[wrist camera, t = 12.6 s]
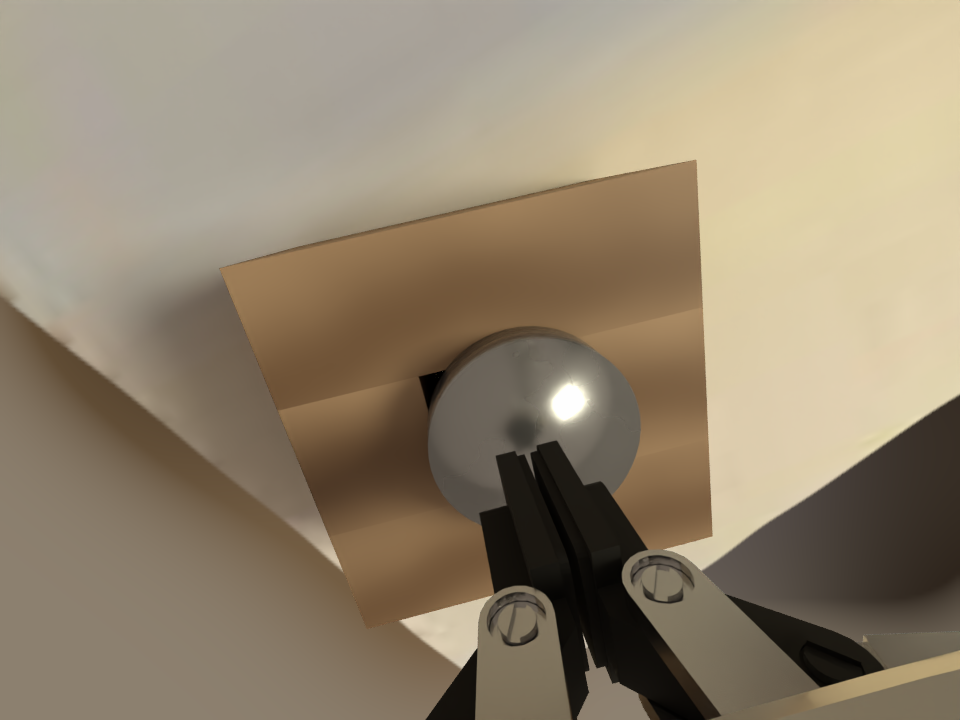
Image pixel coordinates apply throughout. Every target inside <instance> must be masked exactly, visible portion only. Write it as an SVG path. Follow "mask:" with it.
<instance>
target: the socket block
mask: <svg viewBox="0 0 960 720" xmlns="http://www.w3.org/2000/svg"><path fill="white" fill-rule="evenodd" d="M219 269H220V271H221V274H222V276H223V278H224V281H225V283H226V286H227V288H228V291H229V293H230V295H231V298H232V300H233V303H234V305H235V308H236V310H237V313H238V315H239V317H240V320H241V322H242V325H243V327H244V330H245V332H246V335H247V337H248V339H249V342H250V344H251V347H252V349H253V352H254V354H255V357H256V359H257V361H258V364H259V366H260V369H261V371H262V374H263V376H264V379H265V381H266V383H267V386H268V388H269V391H270V393H271V396H272V398H273V401H274V403H275V405H276V408H277V410H278V413H279V415H280V418H281V420H282V423H283V425H284V427H285V430H286V432H287V435H288V437H289V440H290V442H291V445H292V447H293V449H294V452H295V454H296V457H297V459H298V462H299V464H300V467H301V469H302V471H303V474H304V476H305V479H306V481H307V484H308V486H309V489H310V491H311V493H312V496H313V498H314V501H315V503H316V506H317V508H318V511H319V513H320V515H321V518H322V520H323V523H324V525H325V528H326V530H327V532H328V535H329V537H330V540H331V542H332V545H333V547H334V550H335V552H336V554H337V557H338V559H339V562H340V564H341V567H342V569H343V572H344V574H345V576H346V579H347V581H348V584H349V586H350V588H351V591H352V593H353V596H354V598H355V601H356V603H357V606H358V608H359V611H360V613H361V616H362V618H363V620H364V623H365V625H366V628H367V629H369V628H372V627H376V626H380V625H384V624H387V623H390V622H395V621H399V620H402V619H406V618H410V617H413V616H417V615H421V614H425V613H428V612H432V611H436V610H440V609H443V608H447V607H451V606H454V605H458V604H462V603H466V602H469V601H473V600H477V599H480V598H484V597H488V596H492V595H494V590H493V584H492V579H491V574H490V568H489V563H488V558H487V552H486V547H485V542H484V536H483V531H482V526H481V525H479V524H477V523H475V522H473V521H471V520H469V519H468V518H466V517H465V516H464V515H462V514H461V513H459V512H458V511H457V510H456V509H455V508H454V507H453V506H452V505H451V504H450V503H449V502H448V501H447V500H446V498H445V497H444V496H443V494H442V493H441V491H440V489H439V488H438V486H437V484H436V482H435V479H434V477H433V474H432V471H431V467H430V463H429V456H428V424H427V421H428V410H429V405H430V401H431V397H432V395H433V392H434V389H435V387H436V385H437V380H436V377H435V372H439V371H443V370H446V369H447V367H448V366H449V365H450V363H451V362H452V361H453V360H454V359H455V358H456V357H457V356H458V355H459V354H460V353H462V352H463V351H464V350H465V349H467V348H468V347H469V346H470V345H472V344H474V343H475V342H477V341H479V340H480V339H482V338H484V337H486V336H489V335H491V334H493V333H496V332H499V331H502V330H505V329H510V328H515V327H522V326H541V327H549V328H554V329H558V330H562V331H564V332H567V333H570V334H572V335H574V336H576V337H578V338H580V339H581V340H583V341H584V342H586V343H587V344H588V345H590V346H591V347H592V348H594V349H595V350H596V351H597V352H599V353H600V354H601V355H602V356H604V357H605V358H606V359H607V360H609V361H610V362H611V363H612V364H613V365H614V366H615V367H616V368H617V369H618V370H619V371H620V372H621V373H622V374H623V376H624V377H625V378H626V380H627V381H628V383H629V384H630V386H631V388H632V390H633V392H634V394H635V397H636V400H637V403H638V407H639V412H640V420H641V433H640V442H639V446H638V450H637V454H636V457H635V459H634V462H633V465H632V467H631V469H630V471H629V472H628V474H627V476H626V478H625V479H624V481H623V482H622V484H621V485H620V486H619V488H618V489H617V490H616V491H615V492H614V493H613V495H612V496H613V498H614V499H615V501H616V502H617V504H618V505H619V507H620V508H621V510H622V511H623V513H624V514H625V516H626V517H627V519H628V520H629V522H630V523H631V525H632V526H633V528H634V529H635V531H636V532H637V534H638V535H639V537H640V538H641V539H642V541H643V542H644V544H645V545H646V547H647V548H648V550H656V549H661V550H663V549H667V548H670V547H674V546H678V545H682V544H685V543H689V542H693V541H696V540H700V539H704V538H708V537H711V536H712V514H711V491H710V467H709V444H708V421H707V397H706V374H705V350H704V327H703V303H702V280H701V256H700V233H699V210H698V186H697V163H696V160H693V161H688V162H682V163H677V164H672V165H667V166H661V167H656V168H651V169H646V170H641V171H635V172H630V173H625V174H620V175H615V176H609V177H604V178H599V179H594V180H590V181H585V182H581V183H577V184H572V185H568V186H563V187H559V188H555V189H550V190H546V191H541V192H537V193H533V194H528V195H524V196H519V197H515V198H511V199H506V200H502V201H497V202H493V203H489V204H484V205H480V206H475V207H471V208H467V209H462V210H458V211H453V212H449V213H445V214H440V215H436V216H431V217H427V218H423V219H418V220H414V221H409V222H405V223H401V224H396V225H392V226H387V227H383V228H379V229H374V230H370V231H365V232H361V233H357V234H352V235H348V236H343V237H339V238H335V239H330V240H326V241H321V242H317V243H313V244H308V245H304V246H299V247H295V248H292V249H288V250H284V251H281V252H277V253H274V254H270V255H266V256H263V257H259V258H255V259H252V260H248V261H245V262H241V263H237V264H234V265H230V266H226V267H223V268H219Z"/></svg>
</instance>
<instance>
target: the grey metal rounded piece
mask: <svg viewBox="0 0 960 720" xmlns="http://www.w3.org/2000/svg"><path fill="white" fill-rule="evenodd" d="M427 424H428V456H429V463H430V467H431V471H432V474H433V477H434V479H435V482H436V484H437V486H438V488H439V489H440V491H441V493H442V494H443V496H444V497H445V498H446V500H447V501H448V502H449V503H450V504H451V505H452V506H453V507H454V508H455V509H456V510H457V511H458V512H459V513H461V514H462V515H464V516H465V517H466V518H468V519H469V520H471V521H473V522H475V523H477V524H479V525H481V520H480V514H479V512H483V511H487V510H491V509H495V508H499V507H502V506H506V505H507V504H506V500H505V496H504V491H503V487H502V483H501V478H500V474H499V470H498V466H497V461H496V455H500V454H504V453H508V452H512V451H516V454H517V456H519V455H523V454H525V456H526V459H527V461H528V464H529V466H530V468H531V471H532V473H533V475H534V471H533V466H532V461H531V455H530V452H534V451H537V447H536V446H537V445H539V444H543V443H547V442H551V441H555V440H557V441H558V443H559V444H560V446H561V448H562V449H563V451H564V453H565V454H566V456H567V458H568V460H569V461H570V463H571V465H572V466H573V468H574V470H575V471H576V473H577V475H578V476H579V478H580V480H581V481H582V483H583V485H587V484H591V483H595V482H598V481H601V482H603V484H604V485H605V486H606V488H607V489H608V491H609V492H610V493H611V495H613V493H614V492H615V491H616V490H617V489H618V488H619V486H620V485H621V484H622V482H623V481H624V479H625V478H626V476H627V474H628V472H629V471H630V469H631V467H632V465H633V462H634V459H635V457H636V454H637V450H638V446H639V442H640V433H641V420H640V412H639V407H638V403H637V400H636V397H635V394H634V392H633V390H632V388H631V386H630V384H629V383H628V381H627V380H626V378H625V377H624V376H623V374H622V373H621V372H620V371H619V370H618V369H617V368H616V367H615V366H614V365H613V364H612V363H611V362H610V361H609V360H607V359H606V358H605V357H604V356H602V355H601V354H600V353H599V352H597V351H596V350H595V349H594V348H592V347H591V346H590V345H588V344H587V343H586V342H584V341H583V340H581V339H580V338H578V337H576V336H574V335H572V334H570V333H567V332H564V331H562V330H558V329H554V328H549V327H541V326H522V327H515V328H510V329H505V330H502V331H499V332H496V333H493V334H491V335H489V336H486V337H484V338H482V339H480V340H479V341H477V342H475V343H474V344H472V345H470V346H469V347H468V348H467V349H465V350H464V351H463V352H462V353H460V354H459V355H458V356H457V357H456V358H455V359H454V360H453V361H452V362H451V363H450V365H449V366H448V367H447V369H446V370H445V371H444V373H443V374H442V376H441V378H440V379H439V381H438V383H437V385H436V387H435V389H434V392H433V395H432V397H431V401H430V405H429V410H428V421H427ZM534 478H535V476H534ZM481 526H482V525H481Z"/></svg>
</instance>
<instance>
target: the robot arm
mask: <svg viewBox="0 0 960 720" xmlns="http://www.w3.org/2000/svg"><path fill="white" fill-rule="evenodd" d="M536 447H537V451H534V452H530V455H531V461H532V466H533V471H534V475H533V473H532V471H531V468H530V466H529V464H528V461H527V459H526V456H525V454H523V455H519V456H517V454H516V451H512V452H508V453H504V454H500V455H496V461H497V466H498V470H499V474H500V478H501V483H502V487H503V491H504V496H505V500H506V504H507V505H506V506H502V507H499V508H495V509H491V510H487V511H483V512H479V514H480V520H481V525H482V531H483V536H484V542H485V547H486V552H487V558H488V563H489V568H490V574H491V579H492V584H493V590H494V595H493V596H492V597H491V598H490V599H489V600H488V601H487V602H486V603H485V605H484V607H483V609H482V610H481V612H480V617H479V622H478V648H477V649H476V651H475V652H474V653H473V655H472V656H471V657H470V659H469V660H468V662H467V663H466V664H465V666H464V667H463V669H462V670H461V671H460V673H459V674H458V675H457V677H456V678H455V680H454V681H453V682H452V684H451V685H450V687H449V688H448V689H447V691H446V692H445V693H444V695H443V696H442V698H441V699H440V700H439V702H438V703H437V705H436V706H435V707H434V709H433V710H432V712H431V713H430V714H429V716H428V717H427V719H426V720H577V716H578V714H579V712H580V710H581V708H582V706H583V704H584V701H585V699H586V697H587V695H588V693H589V691H588V686H587V681H586V676H585V671H589V665H588V659H587V654H586V648H585V643H584V638H583V635H584V637H585V640H586V642H587V645H588V648H589V650H590V653H591V656H592V658H593V660H594V663H595V665H596V667H597V668H600V667H604V666H605V667H606V669H607V671H608V674H609V676H610V679H611V681H612V683H617V682H620V684H622V685H624V686H626V687H627V688H629V689H631V690H633V691H635V692H637V693H638V696H639V699H640V701H641V704H642V706H643V708H644V710H645V712H646V713H647V715H648V717H649V718H650V720H960V631H956V632H955V631H954V632H927V633H901V634H874V635H864V636H863V642H855V641H853V640H852V639H850V638H848V637H845V636H843V635H841V634H839V633H836V632H834V631H831V630H828V629H826V628H823V627H820V626H817V625H814V624H811V623H808V622H805V621H802V620H799V619H796V618H793V617H791V616H787V615H785V614H782V613H779V612H776V611H773V610H770V609H767V608H764V607H761V606H758V605H756V604H753V603H749V602H747V601H744V600H741V599H738V598H735V597H732V596H729V595H726V594H724V593H723V592H722V591H721V590H720V589H719V588H718V587H717V586H716V585H715V584H714V583H713V582H712V581H710V579H709V578H708V577H707V576H706V575H704V573H703V572H702V571H701V570H700V569H698V568H697V567H696V566H695V565H694V564H693V563H692V562H691V561H689V560H688V559H687V558H685V557H684V556H681V555H679V554H677V553H675V552H671V551H666V550H661V549H656V550H648V548H647V547H646V545H645V544H644V542H643V541H642V539H641V538H640V537H639V535H638V534H637V532H636V531H635V529H634V528H633V526H632V525H631V523H630V522H629V520H628V519H627V517H626V516H625V514H624V513H623V511H622V510H621V508H620V507H619V505H618V504H617V502H616V501H615V499H614V498H613V496H612V495H611V493H610V492H609V491H608V489H607V488H606V486H605V485H604V484H603V482H601V481H598V482H595V483H591V484H587V485H583V483H582V481H581V480H580V478H579V476H578V475H577V473H576V471H575V470H574V468H573V466H572V465H571V463H570V461H569V460H568V458H567V456H566V454H565V453H564V451H563V449H562V448H561V446H560V444H559V443H558V441H557V440H555V441H551V442H547V443H543V444H539V445H537V446H536ZM534 476H535V478H534Z"/></svg>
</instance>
